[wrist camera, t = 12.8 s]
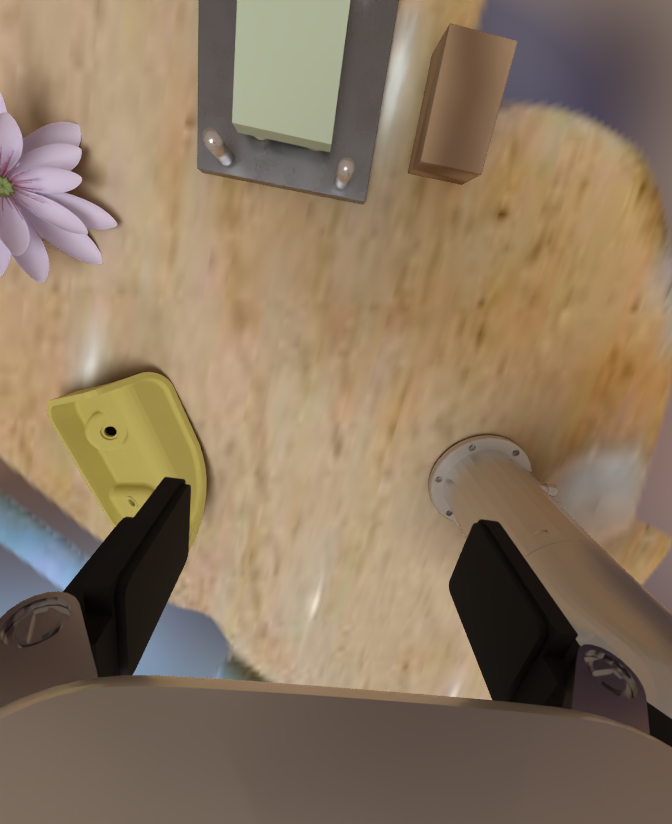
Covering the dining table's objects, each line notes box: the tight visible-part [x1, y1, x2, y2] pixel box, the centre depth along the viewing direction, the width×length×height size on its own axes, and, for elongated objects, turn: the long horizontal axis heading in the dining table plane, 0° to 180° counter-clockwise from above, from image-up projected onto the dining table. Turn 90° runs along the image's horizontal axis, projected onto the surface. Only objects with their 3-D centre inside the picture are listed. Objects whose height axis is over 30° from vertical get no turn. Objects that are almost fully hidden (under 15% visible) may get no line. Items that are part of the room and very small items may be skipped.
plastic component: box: [47, 372, 207, 550], centre depth 39 cm, size 20×7×10 cm
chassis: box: [197, 0, 399, 204], centre depth 25 cm, size 14×16×6 cm
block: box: [408, 23, 517, 185], centre depth 28 cm, size 5×8×4 cm, turn 170°
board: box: [232, 0, 350, 152], centre depth 24 cm, size 7×11×2 cm, turn 170°
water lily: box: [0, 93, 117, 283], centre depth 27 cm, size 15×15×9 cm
